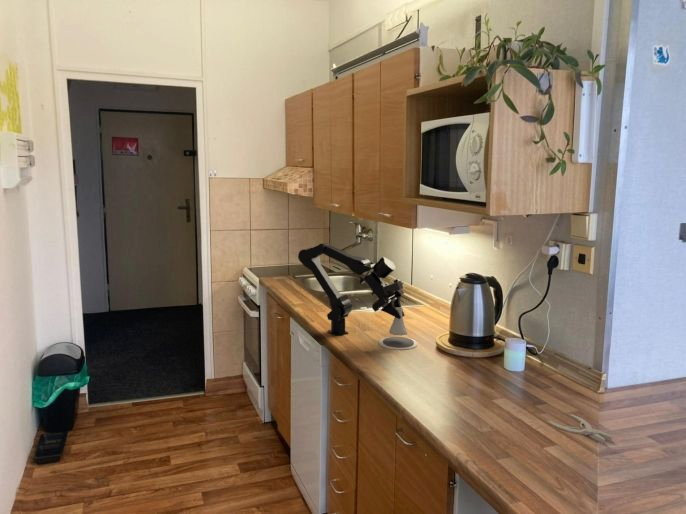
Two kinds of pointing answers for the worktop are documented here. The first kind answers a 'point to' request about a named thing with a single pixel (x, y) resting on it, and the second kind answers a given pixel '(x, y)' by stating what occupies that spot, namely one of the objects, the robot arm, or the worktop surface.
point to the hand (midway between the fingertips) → (401, 317)
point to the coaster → (398, 343)
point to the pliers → (585, 430)
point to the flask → (398, 325)
